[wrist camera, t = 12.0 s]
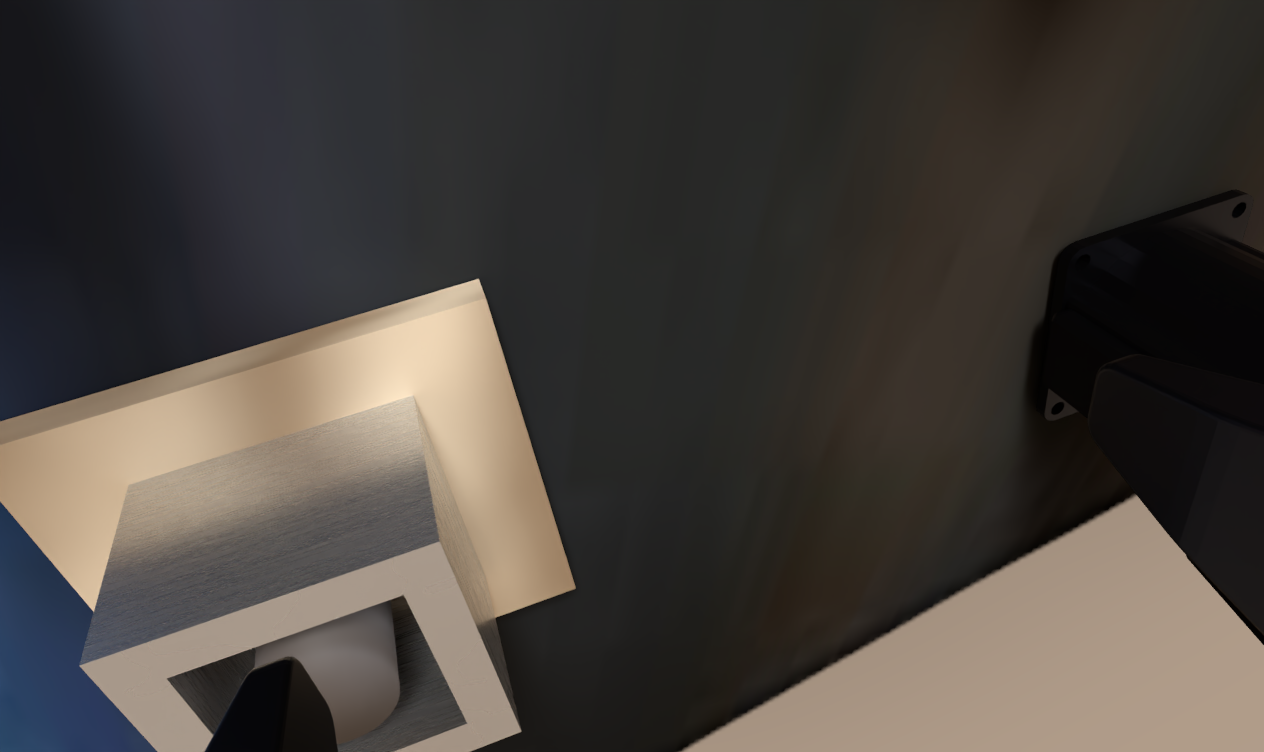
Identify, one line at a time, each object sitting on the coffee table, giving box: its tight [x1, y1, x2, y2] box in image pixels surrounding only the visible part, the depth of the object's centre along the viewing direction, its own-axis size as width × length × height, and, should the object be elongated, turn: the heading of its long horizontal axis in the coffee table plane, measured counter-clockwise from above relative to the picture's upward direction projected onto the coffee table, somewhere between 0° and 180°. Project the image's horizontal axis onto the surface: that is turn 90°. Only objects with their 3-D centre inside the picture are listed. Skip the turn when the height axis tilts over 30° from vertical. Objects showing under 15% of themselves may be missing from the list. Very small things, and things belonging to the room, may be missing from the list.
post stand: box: [0, 279, 576, 744], centre depth 19 cm, size 11×10×6 cm
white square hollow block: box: [79, 395, 522, 752], centre depth 19 cm, size 6×6×5 cm
